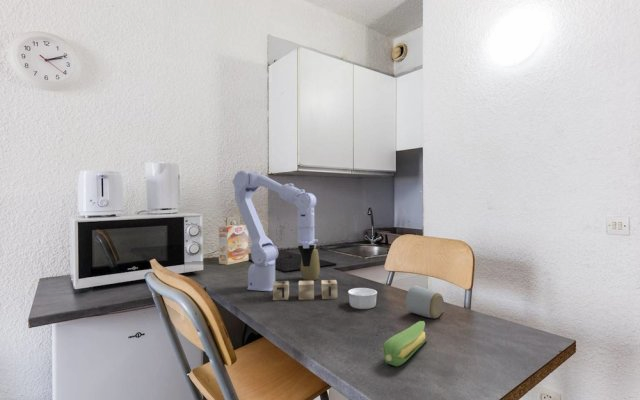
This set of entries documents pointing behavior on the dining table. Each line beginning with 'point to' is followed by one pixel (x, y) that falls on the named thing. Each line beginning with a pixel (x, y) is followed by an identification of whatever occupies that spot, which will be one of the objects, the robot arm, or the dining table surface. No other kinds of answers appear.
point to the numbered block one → (329, 289)
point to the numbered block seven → (281, 290)
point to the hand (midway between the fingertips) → (306, 266)
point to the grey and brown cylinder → (424, 302)
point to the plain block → (306, 290)
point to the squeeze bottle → (311, 266)
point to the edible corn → (404, 344)
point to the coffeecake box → (233, 244)
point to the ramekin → (362, 298)
